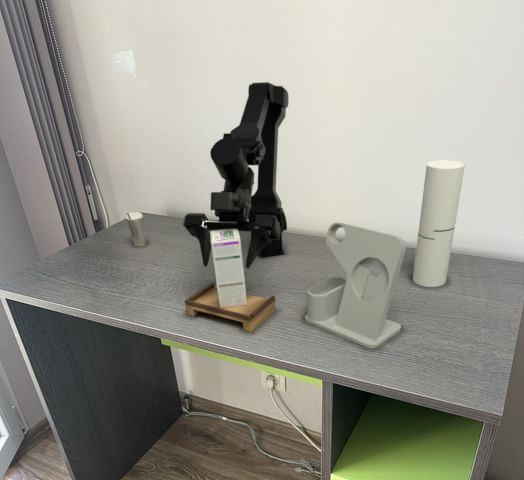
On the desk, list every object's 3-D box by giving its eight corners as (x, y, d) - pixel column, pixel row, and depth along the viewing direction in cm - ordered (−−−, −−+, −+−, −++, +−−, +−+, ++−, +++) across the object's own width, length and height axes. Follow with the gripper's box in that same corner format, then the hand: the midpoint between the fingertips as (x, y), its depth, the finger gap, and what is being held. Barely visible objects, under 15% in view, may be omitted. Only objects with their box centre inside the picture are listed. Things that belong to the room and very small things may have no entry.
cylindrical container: (447, 287, 108) (467, 168, 94) (413, 286, 109) (428, 168, 95) (444, 273, 113) (462, 160, 100) (411, 272, 115) (425, 160, 101)
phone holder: (300, 319, 99) (299, 232, 90) (332, 301, 105) (334, 218, 95) (373, 350, 89) (380, 255, 79) (404, 328, 94) (414, 237, 85)
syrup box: (247, 305, 100) (242, 237, 92) (218, 309, 100) (210, 240, 92) (244, 293, 105) (239, 227, 97) (216, 296, 104) (209, 230, 96)
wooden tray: (275, 311, 103) (275, 296, 101) (251, 332, 96) (249, 317, 94) (213, 296, 110) (212, 282, 108) (186, 315, 103) (184, 300, 102)
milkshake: (127, 248, 138) (119, 212, 133) (136, 241, 142) (130, 206, 137) (141, 249, 137) (134, 213, 131) (151, 242, 141) (144, 207, 136)
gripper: (179, 171, 94) (165, 248, 91) (275, 171, 89) (263, 252, 87) (198, 200, 104) (187, 270, 102) (285, 202, 100) (275, 275, 97)
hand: (225, 266), depth 96 cm, fingers open, 8 cm apart
